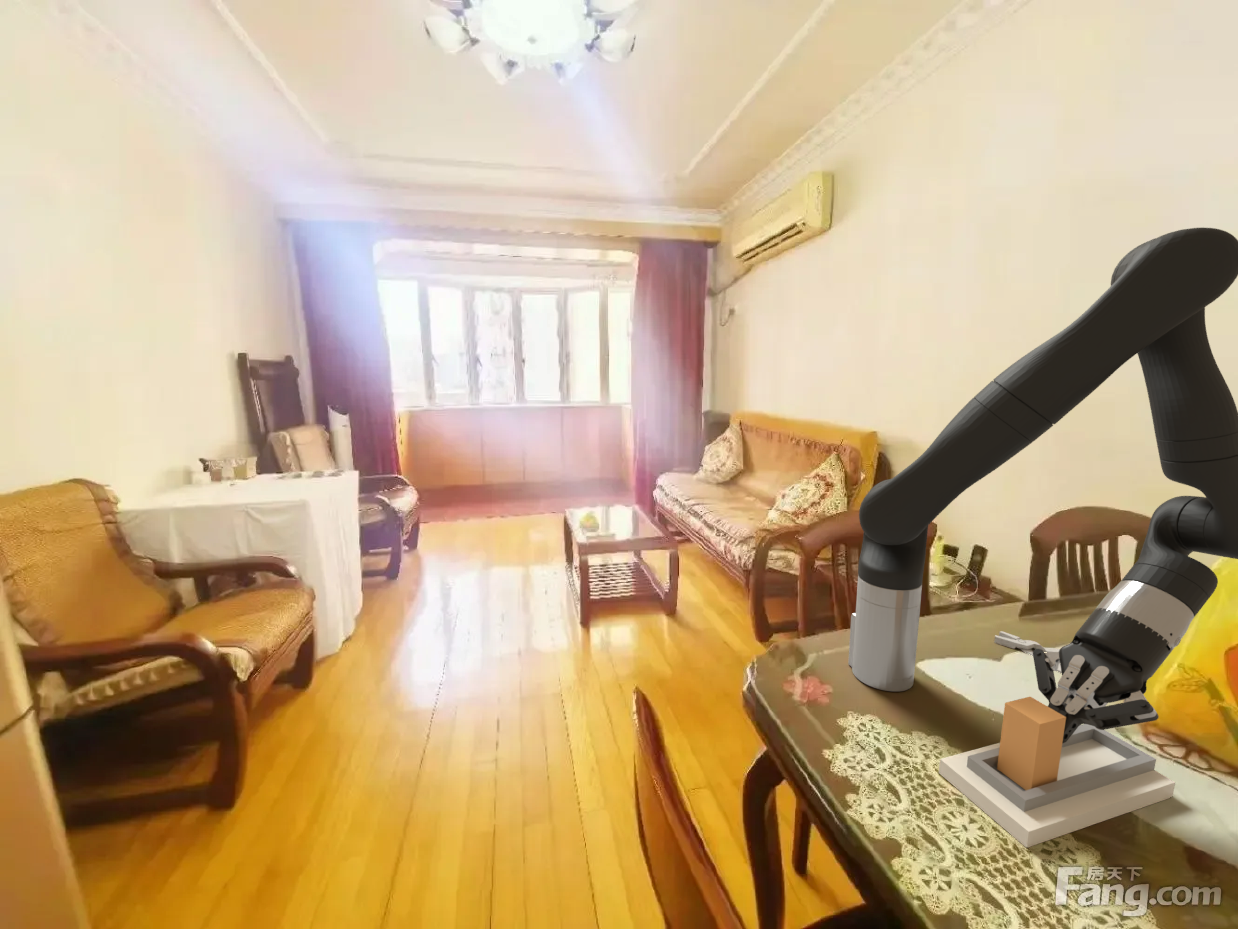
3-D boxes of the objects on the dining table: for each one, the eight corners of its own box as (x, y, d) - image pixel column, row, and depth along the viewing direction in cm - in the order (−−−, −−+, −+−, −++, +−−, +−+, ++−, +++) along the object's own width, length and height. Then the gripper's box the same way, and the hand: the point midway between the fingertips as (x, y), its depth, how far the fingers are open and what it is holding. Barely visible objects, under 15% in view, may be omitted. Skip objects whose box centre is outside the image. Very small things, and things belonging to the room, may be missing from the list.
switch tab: (997, 768, 63) (1005, 702, 62) (1021, 761, 64) (1030, 696, 63) (1030, 793, 60) (1039, 724, 58) (1056, 785, 61) (1066, 717, 59)
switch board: (938, 772, 66) (941, 748, 65) (1070, 735, 72) (1074, 713, 71) (1026, 847, 55) (1030, 819, 55) (1172, 796, 61) (1177, 771, 61)
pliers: (1096, 679, 83) (987, 641, 94) (1095, 688, 83) (986, 649, 95) (1111, 658, 88) (1006, 625, 100) (1109, 666, 89) (1005, 632, 100)
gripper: (1061, 588, 68) (979, 690, 67) (1193, 637, 56) (1095, 763, 55) (1084, 620, 70) (1006, 718, 69) (1217, 673, 58) (1123, 794, 57)
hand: (1045, 738), depth 62 cm, fingers closed
